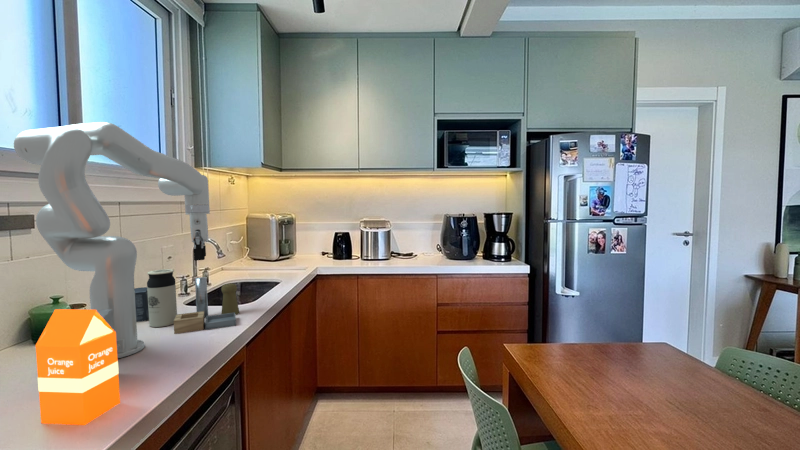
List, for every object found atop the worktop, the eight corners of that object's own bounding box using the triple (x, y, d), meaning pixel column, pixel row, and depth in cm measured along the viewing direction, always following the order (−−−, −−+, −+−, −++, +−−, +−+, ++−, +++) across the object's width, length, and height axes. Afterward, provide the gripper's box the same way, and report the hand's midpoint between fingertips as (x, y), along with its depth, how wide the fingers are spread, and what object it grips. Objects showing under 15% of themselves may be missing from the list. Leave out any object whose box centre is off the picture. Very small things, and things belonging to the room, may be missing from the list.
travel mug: (168, 319, 129) (165, 268, 128) (182, 321, 126) (179, 269, 125) (144, 326, 122) (141, 272, 121) (158, 329, 119) (155, 273, 118)
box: (136, 316, 133) (135, 287, 133) (154, 315, 135) (153, 286, 135) (127, 323, 126) (125, 292, 125) (146, 321, 128) (145, 291, 127)
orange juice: (80, 401, 74) (74, 303, 73) (121, 402, 74) (115, 304, 73) (39, 424, 67) (31, 315, 66) (84, 425, 66) (76, 315, 65)
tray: (236, 325, 121) (235, 319, 121) (205, 329, 117) (204, 323, 117) (235, 318, 129) (235, 312, 129) (206, 322, 125) (206, 316, 125)
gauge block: (203, 329, 117) (202, 317, 117) (174, 333, 114) (173, 321, 114) (204, 322, 125) (204, 311, 124) (177, 326, 121) (176, 314, 121)
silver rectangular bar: (208, 317, 130) (206, 278, 130) (196, 319, 129) (194, 279, 128) (208, 314, 134) (206, 276, 133) (197, 316, 132) (195, 277, 131)
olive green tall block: (218, 314, 135) (217, 284, 134) (235, 310, 139) (233, 281, 138) (225, 317, 130) (223, 286, 130) (242, 313, 135) (240, 283, 134)
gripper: (208, 210, 123) (211, 260, 124) (210, 209, 139) (212, 254, 140) (182, 210, 120) (185, 262, 121) (187, 210, 136) (190, 256, 137)
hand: (200, 258), depth 130 cm, fingers open, 9 cm apart
